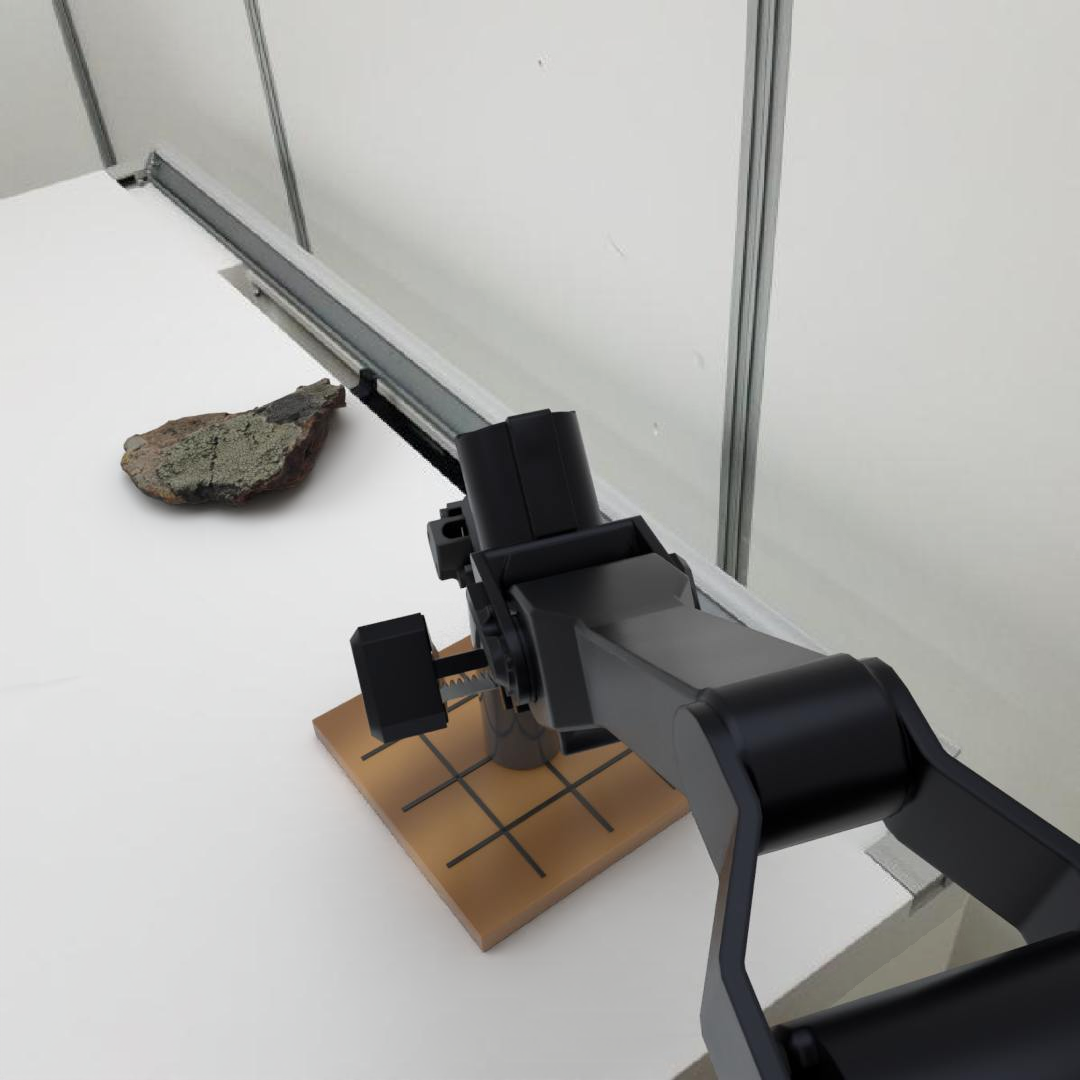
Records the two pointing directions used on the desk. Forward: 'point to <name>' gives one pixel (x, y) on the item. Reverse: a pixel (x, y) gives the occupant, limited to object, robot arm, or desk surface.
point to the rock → (234, 449)
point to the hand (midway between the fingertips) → (510, 647)
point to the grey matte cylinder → (511, 727)
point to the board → (499, 811)
